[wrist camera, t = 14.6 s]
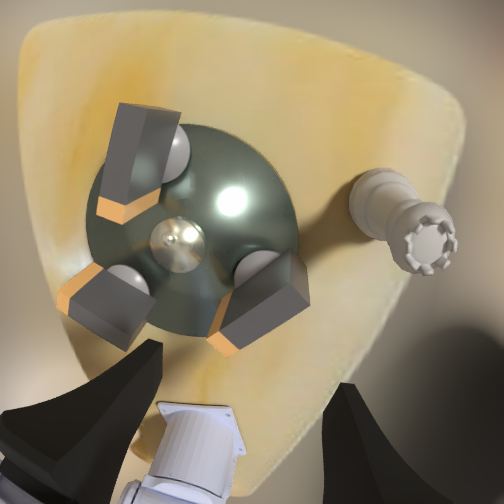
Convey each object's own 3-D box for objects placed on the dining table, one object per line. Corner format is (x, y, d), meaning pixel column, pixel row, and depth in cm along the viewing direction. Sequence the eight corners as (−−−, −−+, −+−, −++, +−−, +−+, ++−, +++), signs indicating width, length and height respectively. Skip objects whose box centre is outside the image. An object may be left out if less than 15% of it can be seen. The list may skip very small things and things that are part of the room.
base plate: (306, 322, 22) (307, 342, 20) (128, 327, 24) (116, 344, 22) (281, 105, 16) (280, 100, 14) (76, 154, 19) (56, 158, 17)
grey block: (277, 231, 18) (273, 264, 14) (317, 278, 19) (324, 321, 15) (210, 283, 20) (190, 325, 16) (250, 323, 21) (240, 370, 16)
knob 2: (164, 285, 21) (135, 323, 16) (149, 323, 22) (123, 363, 18) (98, 247, 20) (59, 275, 16) (89, 288, 22) (55, 319, 17)
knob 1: (142, 103, 16) (99, 98, 12) (202, 117, 16) (171, 114, 12) (122, 189, 18) (79, 207, 14) (176, 207, 18) (142, 232, 14)
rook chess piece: (340, 228, 19) (369, 290, 12) (354, 159, 17) (397, 180, 10) (402, 239, 19) (455, 301, 11) (418, 175, 17) (487, 206, 9)
